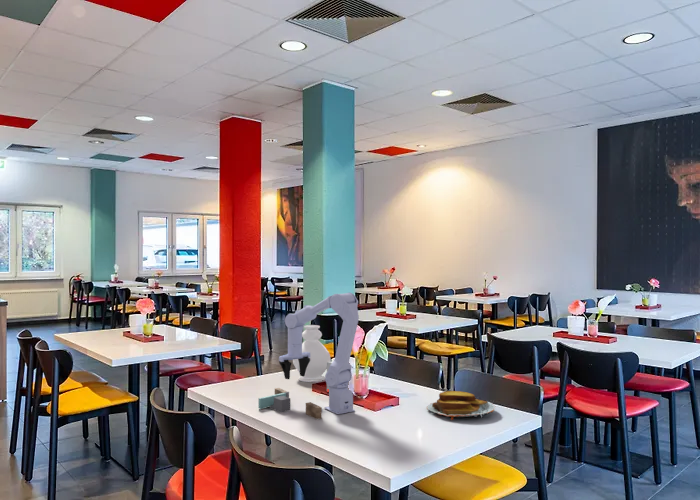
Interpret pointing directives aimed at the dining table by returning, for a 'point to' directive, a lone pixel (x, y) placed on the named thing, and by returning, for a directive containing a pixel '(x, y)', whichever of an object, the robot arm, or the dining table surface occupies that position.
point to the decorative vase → (313, 355)
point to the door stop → (281, 404)
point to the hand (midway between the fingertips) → (294, 377)
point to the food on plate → (460, 405)
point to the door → (270, 400)
